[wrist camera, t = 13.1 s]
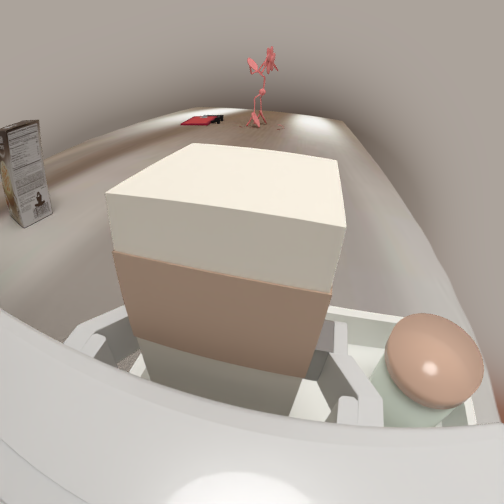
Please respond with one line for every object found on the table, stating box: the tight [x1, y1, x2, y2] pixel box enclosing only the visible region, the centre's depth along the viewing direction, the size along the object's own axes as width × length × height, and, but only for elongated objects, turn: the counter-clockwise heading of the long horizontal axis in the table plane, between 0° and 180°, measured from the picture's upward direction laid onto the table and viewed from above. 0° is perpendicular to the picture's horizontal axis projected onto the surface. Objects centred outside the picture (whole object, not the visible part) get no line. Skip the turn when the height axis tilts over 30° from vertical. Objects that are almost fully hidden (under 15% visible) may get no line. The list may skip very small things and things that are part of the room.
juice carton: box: [105, 143, 347, 417], centre depth 11 cm, size 5×5×14 cm
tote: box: [129, 306, 477, 427], centre depth 15 cm, size 22×18×4 cm
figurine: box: [239, 46, 285, 130], centre depth 106 cm, size 15×26×35 cm, turn 161°
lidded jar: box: [369, 313, 484, 428], centre depth 15 cm, size 6×6×7 cm
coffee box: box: [0, 120, 53, 228], centre depth 36 cm, size 9×6×16 cm
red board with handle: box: [181, 115, 224, 125], centre depth 124 cm, size 30×3×15 cm
